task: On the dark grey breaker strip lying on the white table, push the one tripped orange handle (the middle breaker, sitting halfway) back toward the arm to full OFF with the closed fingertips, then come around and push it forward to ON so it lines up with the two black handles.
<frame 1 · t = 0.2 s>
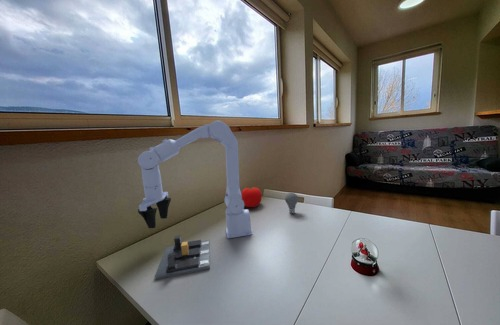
hand: (158, 222, 71), 10 cm above the table, fingers open, 7 cm apart
tripped breaker: (185, 248, 64), point 4 cm above the table, slide at 0.0 cm
tomato: (252, 206, 108), on the table
breaker panel: (186, 258, 64), on the table
light bulb: (292, 213, 94), on the table
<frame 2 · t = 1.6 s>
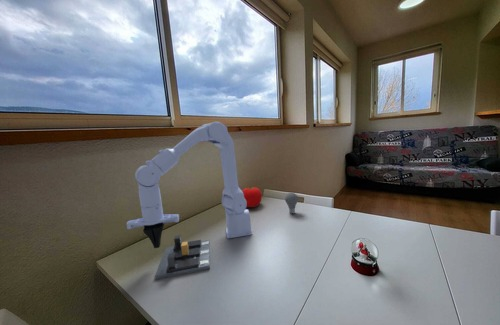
hand: (157, 246, 62), 6 cm above the table, fingers closed
nothing on the table moved.
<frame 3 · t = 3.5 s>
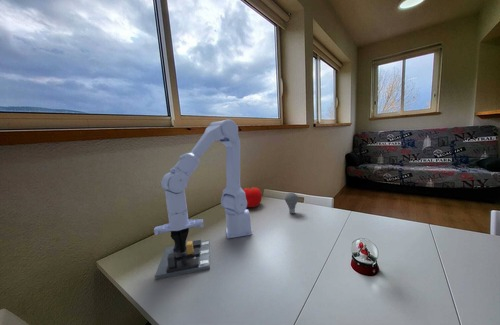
hand: (182, 250, 64), 3 cm above the table, fingers closed
tripped breaker: (189, 247, 64), point 4 cm above the table, slide at -1.5 cm, touching gripper
everything else where it was.
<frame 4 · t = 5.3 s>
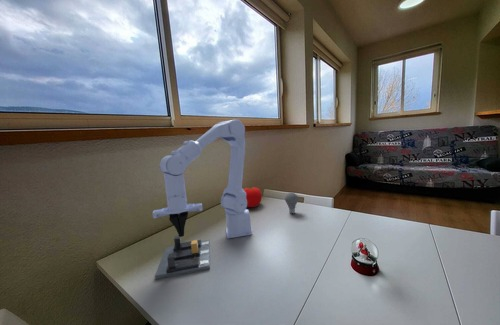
hand: (181, 235, 63), 8 cm above the table, fingers closed
tripped breaker: (194, 246, 64), point 4 cm above the table, slide at -3.0 cm
everything else where it was.
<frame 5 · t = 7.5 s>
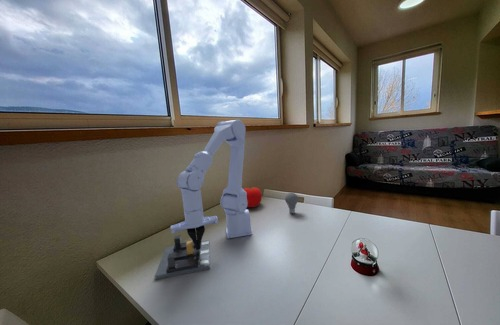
hand: (197, 248, 65), 3 cm above the table, fingers closed
tripped breaker: (190, 247, 64), point 4 cm above the table, slide at -1.5 cm, touching gripper
everything else where it was.
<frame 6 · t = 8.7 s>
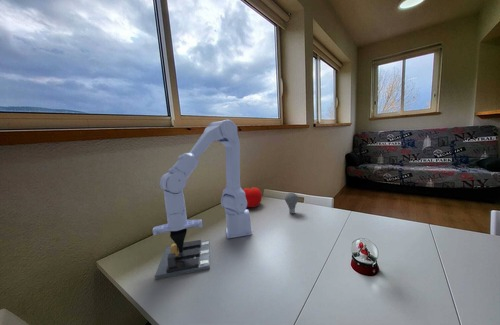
hand: (181, 251, 64), 3 cm above the table, fingers closed
tripped breaker: (174, 250, 63), point 4 cm above the table, slide at 3.1 cm, touching gripper
everything else where it was.
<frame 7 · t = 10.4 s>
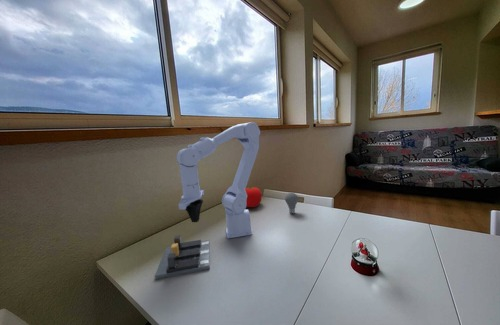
hand: (195, 221, 70), 10 cm above the table, fingers closed
tripped breaker: (175, 250, 63), point 4 cm above the table, slide at 3.0 cm
everything else where it was.
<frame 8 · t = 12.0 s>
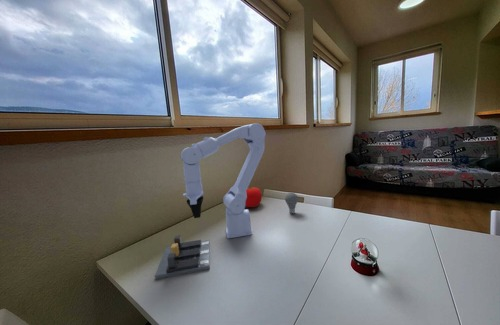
hand: (197, 217, 73), 10 cm above the table, fingers closed
nothing on the table moved.
at the end: tripped breaker slide at 3.0 cm; tripped breaker touching nothing; the gripper is holding nothing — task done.
